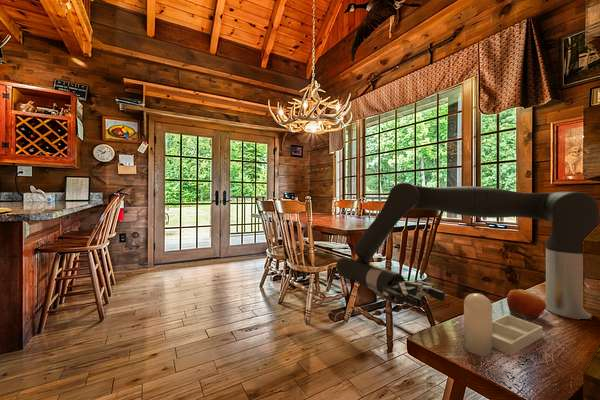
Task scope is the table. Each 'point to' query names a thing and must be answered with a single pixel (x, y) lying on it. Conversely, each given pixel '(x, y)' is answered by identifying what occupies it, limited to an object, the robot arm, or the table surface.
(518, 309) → the fruit
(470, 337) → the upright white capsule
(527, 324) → the tray
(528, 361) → the table surface
